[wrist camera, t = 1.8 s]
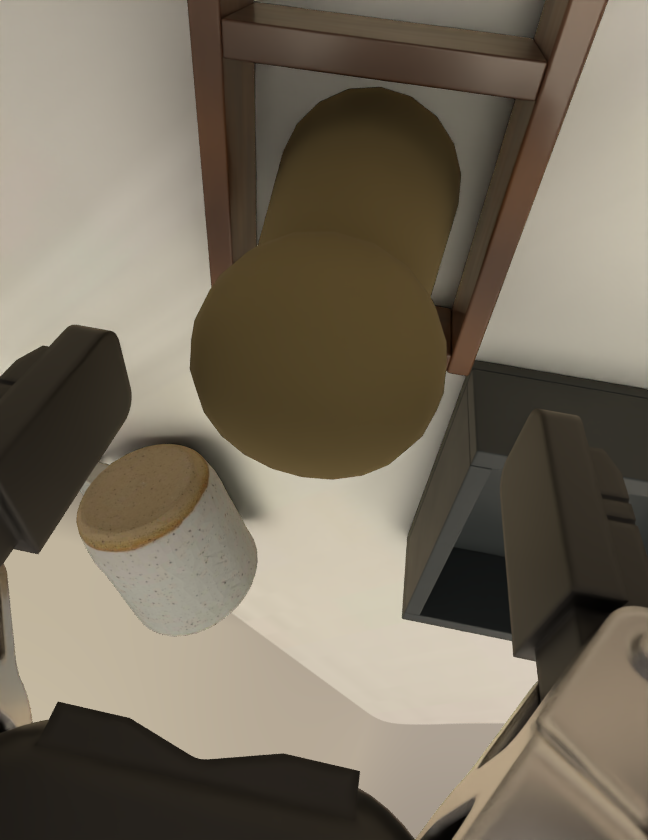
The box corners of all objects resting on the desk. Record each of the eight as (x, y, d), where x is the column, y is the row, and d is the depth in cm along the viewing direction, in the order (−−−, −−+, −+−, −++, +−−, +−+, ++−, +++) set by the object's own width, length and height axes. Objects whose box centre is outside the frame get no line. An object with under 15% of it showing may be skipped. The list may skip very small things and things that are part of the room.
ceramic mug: (225, 429, 27) (165, 560, 21) (273, 522, 32) (236, 646, 27) (61, 437, 30) (-26, 553, 25) (131, 520, 35) (71, 630, 30)
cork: (484, 100, 15) (524, 306, 7) (437, 286, 19) (430, 540, 11) (279, 74, 15) (106, 244, 8) (278, 262, 20) (167, 492, 12)
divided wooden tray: (196, -679, 8) (111, -878, 6) (797, -649, 8) (929, -860, 6) (238, 290, 21) (214, 333, 19) (466, 328, 20) (468, 377, 18)
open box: (472, 359, 21) (476, 450, 18) (817, 417, 20) (895, 526, 17) (406, 536, 31) (401, 619, 27) (639, 581, 30) (664, 672, 26)
